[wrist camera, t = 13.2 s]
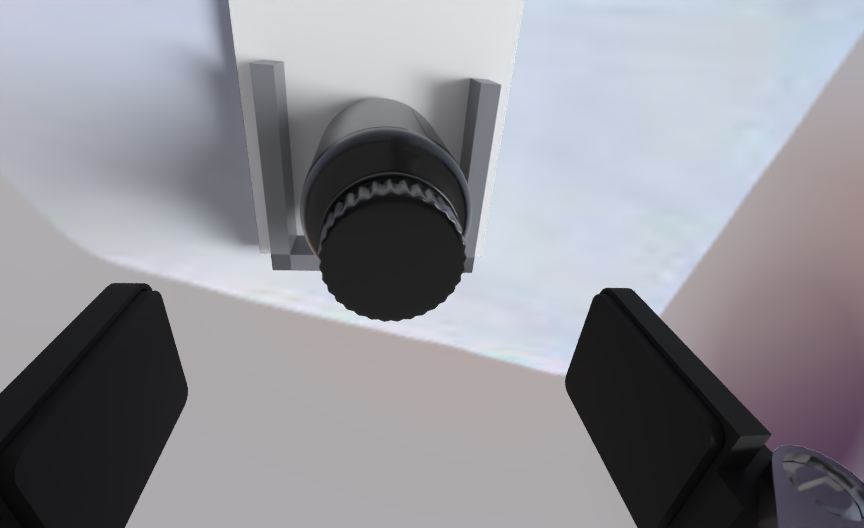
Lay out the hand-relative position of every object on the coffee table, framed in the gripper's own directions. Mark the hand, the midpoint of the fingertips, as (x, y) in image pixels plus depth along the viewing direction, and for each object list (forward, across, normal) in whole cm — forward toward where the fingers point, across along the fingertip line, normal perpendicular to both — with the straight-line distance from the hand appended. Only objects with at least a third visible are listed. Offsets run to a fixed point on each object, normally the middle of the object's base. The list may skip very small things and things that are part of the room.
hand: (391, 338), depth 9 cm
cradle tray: (+17, 0, -1) cm, 17 cm away
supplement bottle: (+16, 0, +1) cm, 16 cm away
